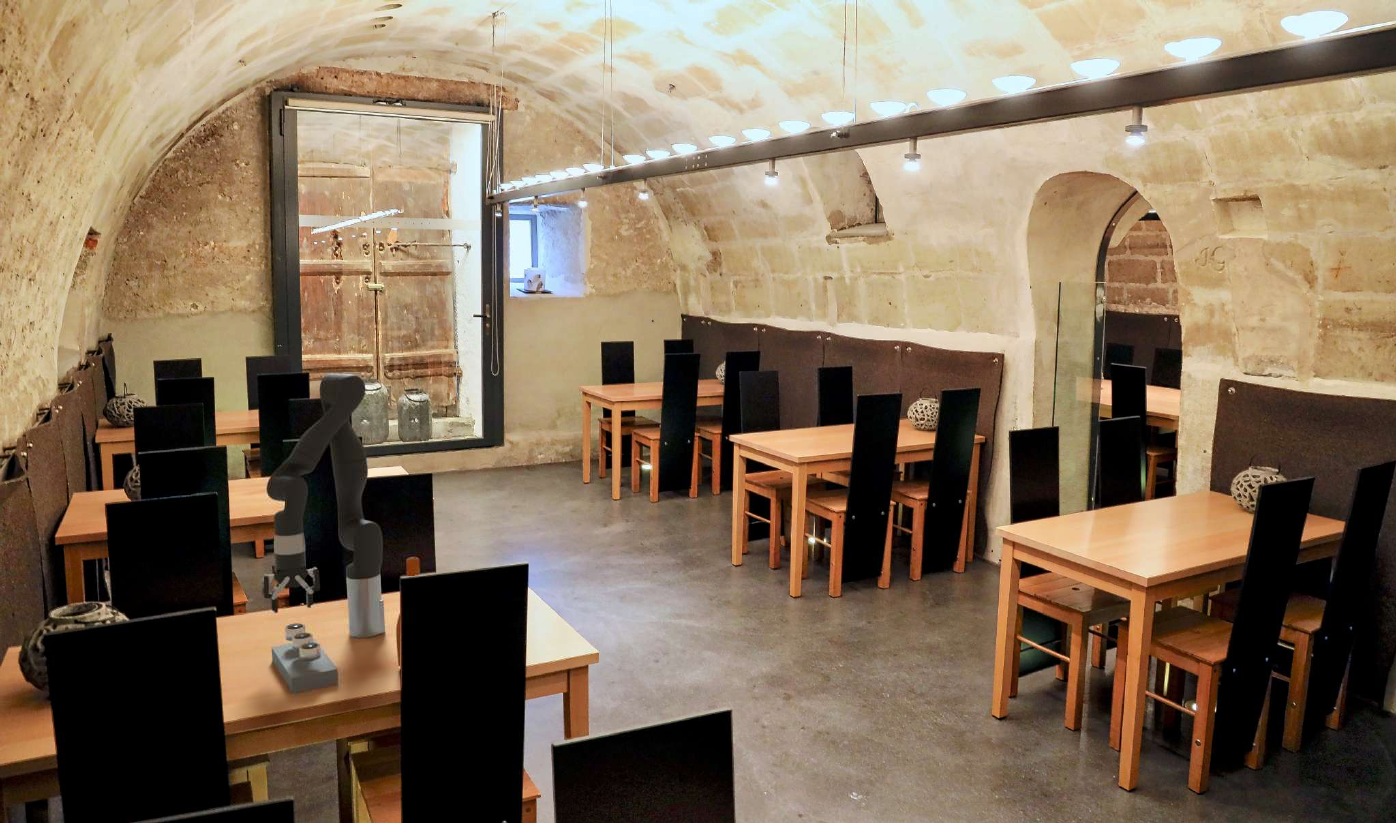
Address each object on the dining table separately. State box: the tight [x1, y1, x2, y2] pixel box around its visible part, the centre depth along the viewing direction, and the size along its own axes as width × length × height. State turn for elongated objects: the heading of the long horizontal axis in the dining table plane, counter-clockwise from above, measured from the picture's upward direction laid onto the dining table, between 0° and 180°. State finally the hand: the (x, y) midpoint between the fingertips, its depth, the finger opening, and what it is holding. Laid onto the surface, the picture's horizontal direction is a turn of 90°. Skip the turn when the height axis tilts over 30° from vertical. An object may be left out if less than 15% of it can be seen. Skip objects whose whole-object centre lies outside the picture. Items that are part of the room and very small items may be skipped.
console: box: [271, 638, 339, 695], centre depth 267 cm, size 11×25×4 cm, turn 33°
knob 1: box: [284, 622, 307, 642], centre depth 273 cm, size 5×5×3 cm
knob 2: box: [291, 632, 314, 651], centre depth 266 cm, size 5×5×3 cm
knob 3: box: [299, 642, 322, 662], centre depth 259 cm, size 5×5×3 cm
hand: (292, 609), depth 272 cm, fingers open, 8 cm apart
